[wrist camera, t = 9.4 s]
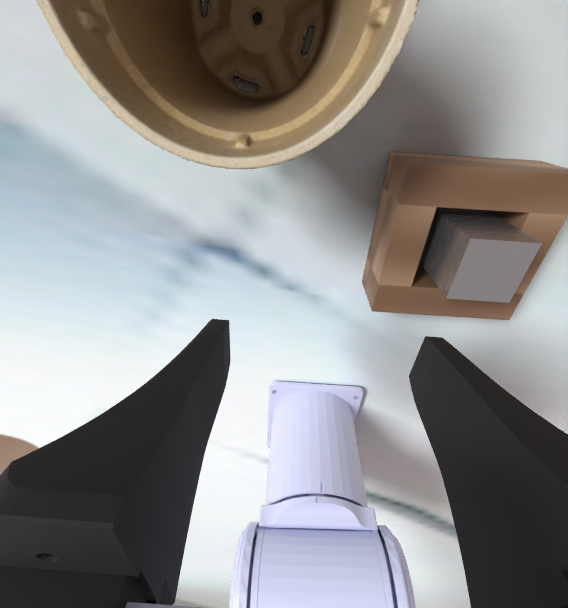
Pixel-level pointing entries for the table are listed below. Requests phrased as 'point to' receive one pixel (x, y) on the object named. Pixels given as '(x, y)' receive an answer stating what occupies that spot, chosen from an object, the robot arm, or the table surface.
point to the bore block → (455, 194)
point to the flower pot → (232, 69)
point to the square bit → (476, 255)
